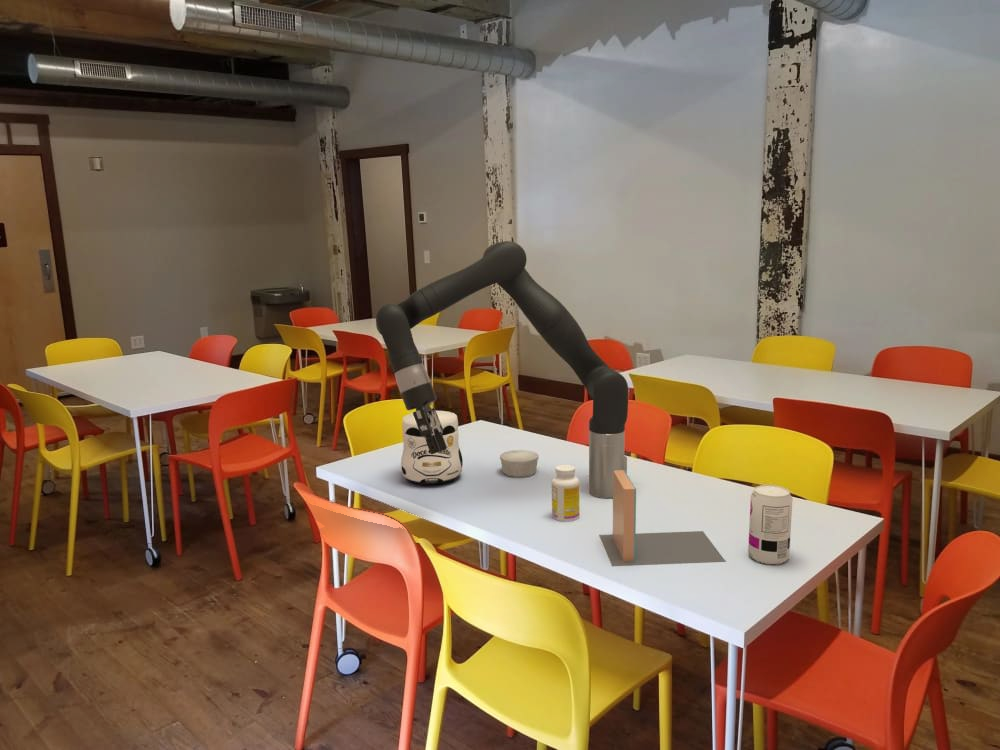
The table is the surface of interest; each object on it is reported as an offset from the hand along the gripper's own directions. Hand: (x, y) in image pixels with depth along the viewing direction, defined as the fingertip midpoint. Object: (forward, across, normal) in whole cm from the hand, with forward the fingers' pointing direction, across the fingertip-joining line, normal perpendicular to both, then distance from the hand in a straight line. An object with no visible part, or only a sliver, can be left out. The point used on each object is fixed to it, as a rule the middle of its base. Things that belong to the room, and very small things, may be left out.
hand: (439, 451), depth 178 cm
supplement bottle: (+26, +12, -21) cm, 36 cm away
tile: (+34, -6, -32) cm, 47 cm away
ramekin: (+14, +45, -10) cm, 48 cm away
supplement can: (+46, -7, -60) cm, 76 cm away
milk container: (+7, +38, +13) cm, 41 cm away
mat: (+37, -4, -39) cm, 54 cm away
